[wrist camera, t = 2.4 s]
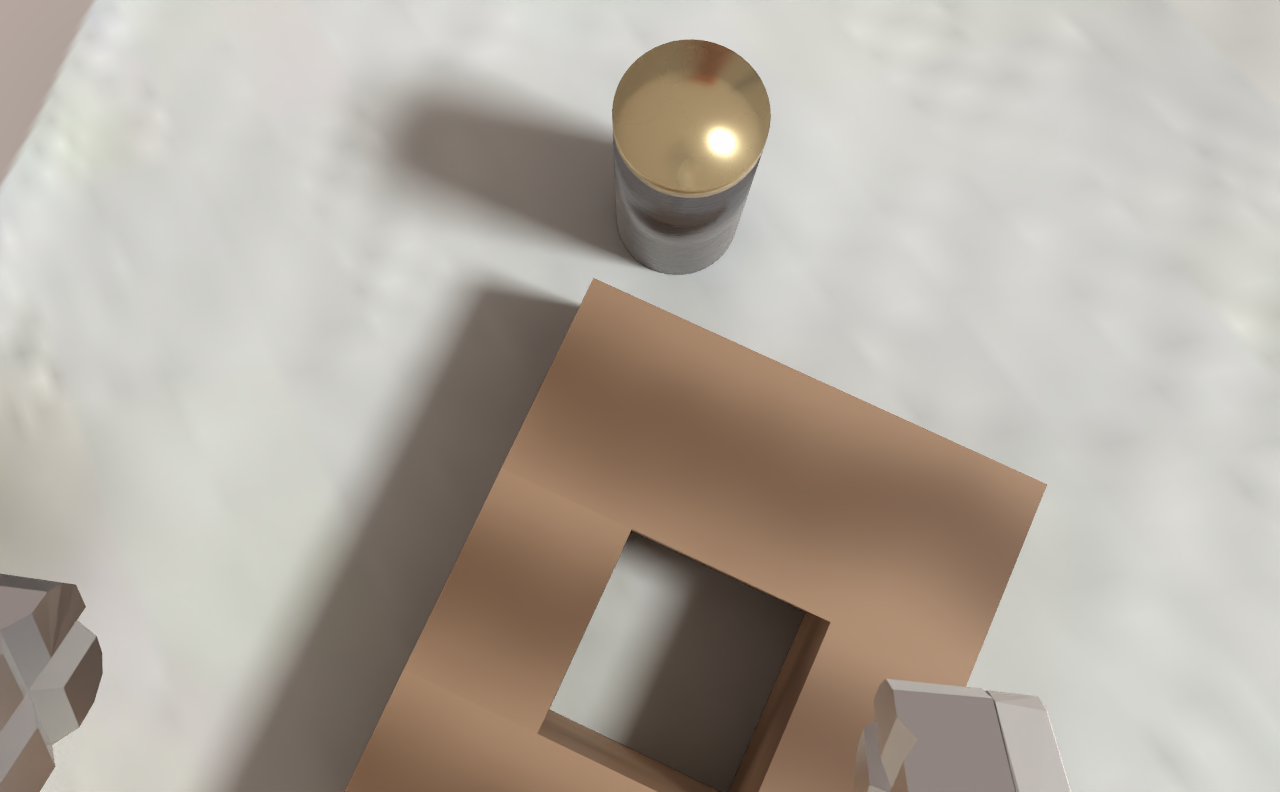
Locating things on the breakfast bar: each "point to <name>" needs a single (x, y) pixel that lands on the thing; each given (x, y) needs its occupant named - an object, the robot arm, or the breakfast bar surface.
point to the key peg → (686, 152)
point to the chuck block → (699, 560)
